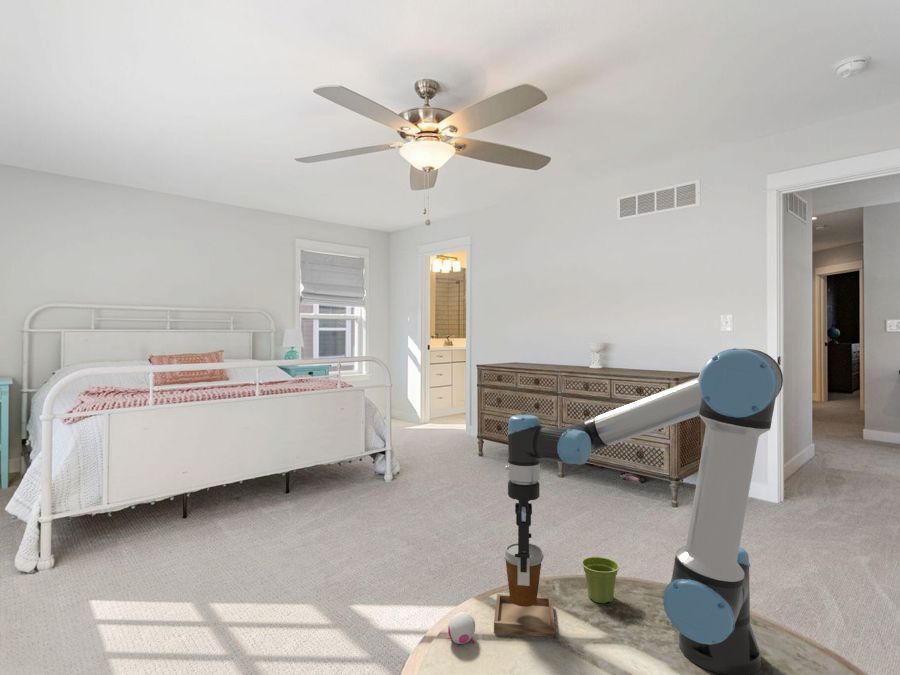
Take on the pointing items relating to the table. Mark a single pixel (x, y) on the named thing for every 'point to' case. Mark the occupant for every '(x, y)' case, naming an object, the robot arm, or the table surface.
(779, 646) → the table surface
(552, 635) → the tray
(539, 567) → the disposable coffee cup
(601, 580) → the plant pot
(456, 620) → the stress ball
